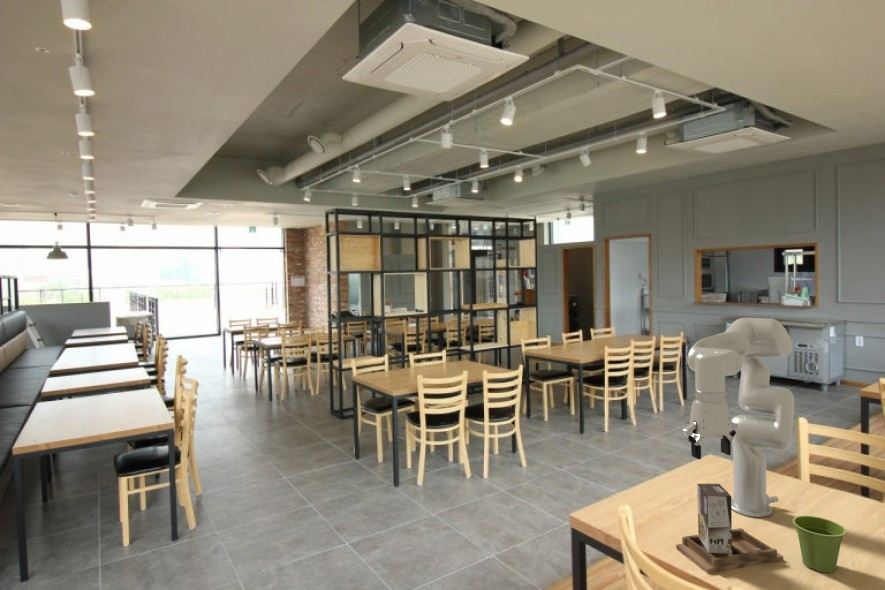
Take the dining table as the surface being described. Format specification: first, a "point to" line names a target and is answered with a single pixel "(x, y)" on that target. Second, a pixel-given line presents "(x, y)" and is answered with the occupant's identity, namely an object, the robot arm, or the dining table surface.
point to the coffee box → (714, 518)
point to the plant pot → (819, 541)
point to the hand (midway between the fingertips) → (711, 455)
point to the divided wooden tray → (742, 555)
